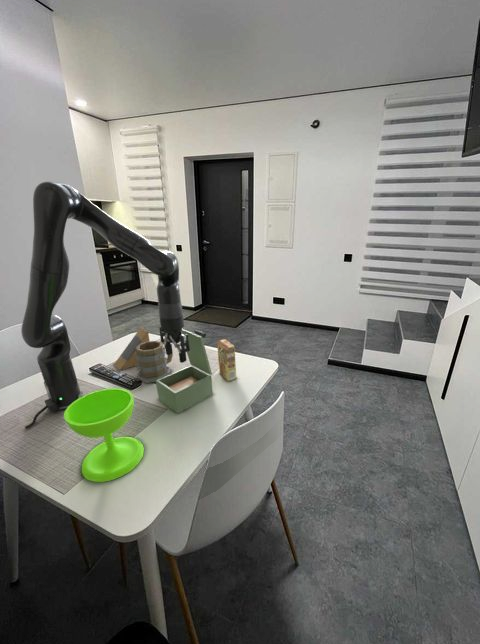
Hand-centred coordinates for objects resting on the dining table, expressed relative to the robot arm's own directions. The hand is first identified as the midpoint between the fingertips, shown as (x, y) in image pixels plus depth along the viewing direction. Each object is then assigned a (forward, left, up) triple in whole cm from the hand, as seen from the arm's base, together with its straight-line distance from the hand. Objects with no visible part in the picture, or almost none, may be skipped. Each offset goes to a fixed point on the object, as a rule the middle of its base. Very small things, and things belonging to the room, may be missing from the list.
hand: (176, 358), depth 101 cm
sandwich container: (+2, +43, -18) cm, 46 cm away
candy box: (+23, 0, -18) cm, 29 cm away
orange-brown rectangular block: (+2, 0, -17) cm, 17 cm away
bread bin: (+2, 0, -17) cm, 17 cm away
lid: (+8, 0, -1) cm, 8 cm away
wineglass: (-29, -10, -18) cm, 35 cm away
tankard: (+6, +25, -18) cm, 31 cm away
